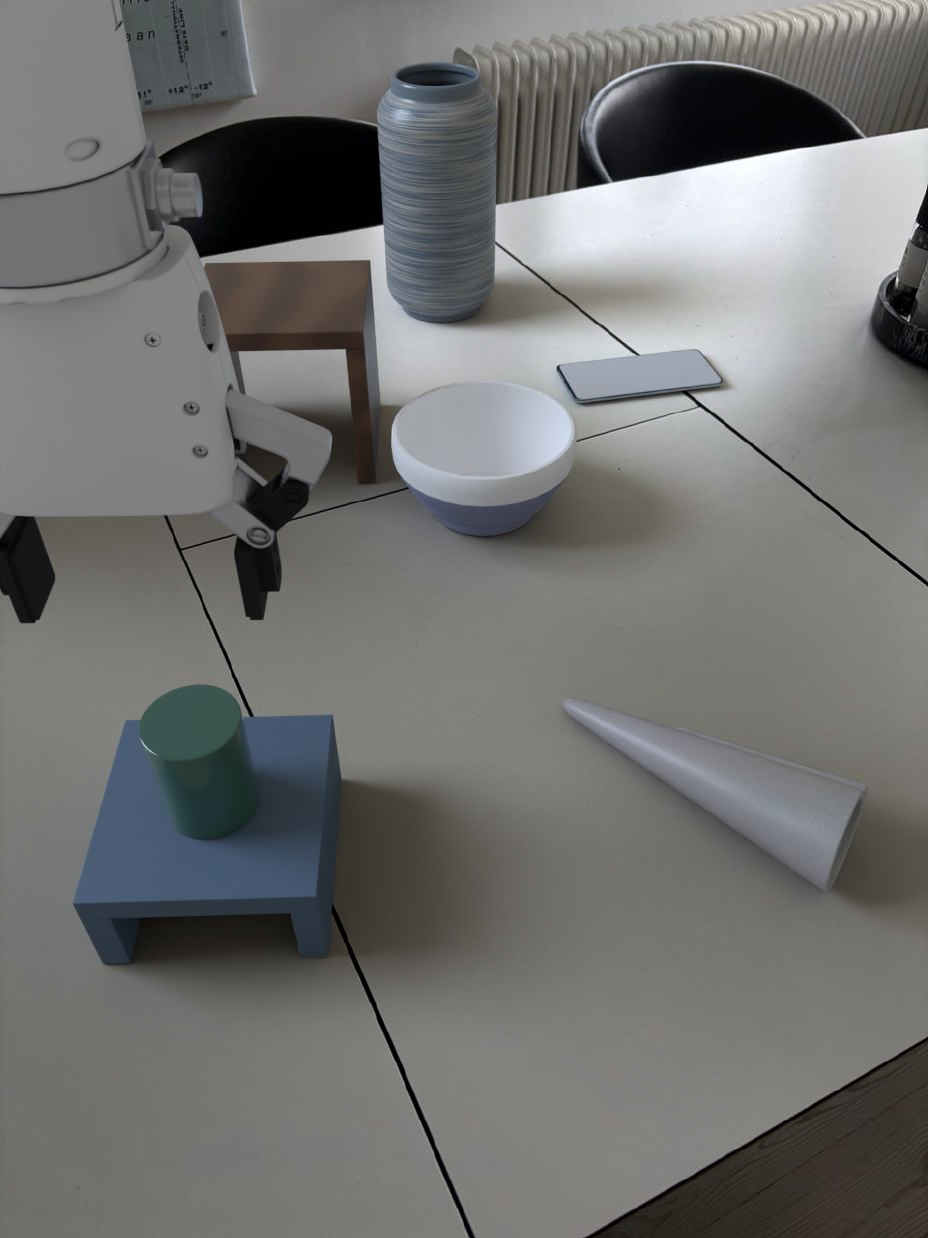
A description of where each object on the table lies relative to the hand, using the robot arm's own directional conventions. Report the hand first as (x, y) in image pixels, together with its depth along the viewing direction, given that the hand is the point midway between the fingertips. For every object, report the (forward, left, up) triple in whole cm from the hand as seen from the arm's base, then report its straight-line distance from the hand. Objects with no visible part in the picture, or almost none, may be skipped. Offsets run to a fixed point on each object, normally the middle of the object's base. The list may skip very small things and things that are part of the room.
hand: (149, 600), depth 44 cm
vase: (+13, +71, -20) cm, 75 cm away
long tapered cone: (+27, +4, -20) cm, 34 cm away
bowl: (+16, +34, -20) cm, 43 cm away
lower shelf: (0, 0, -20) cm, 20 cm away
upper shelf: (0, +44, -20) cm, 48 cm away
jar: (0, 0, -14) cm, 14 cm away
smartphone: (+32, +54, -20) cm, 66 cm away
